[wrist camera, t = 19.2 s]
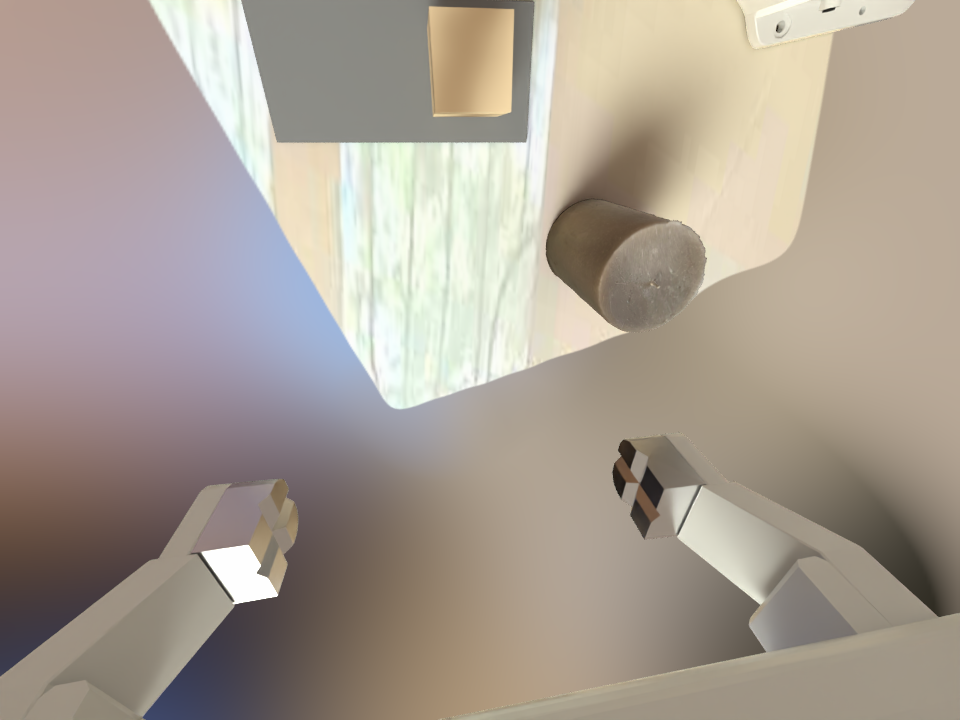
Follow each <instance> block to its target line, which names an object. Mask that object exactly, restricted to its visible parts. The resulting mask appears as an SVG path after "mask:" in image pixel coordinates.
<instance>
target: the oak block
mask: <svg viewBox="0 0 960 720" xmlns="http://www.w3.org/2000/svg"><path fill="white" fill-rule="evenodd" d="M513 34H514V9H494V8H463V7H433V6H429V12H428V24H427V36H428V51H429V67H430V82H431V97H432V112H433V117H498V116H501V115H504V114H507V113H510V112H511V104H512V69H513Z"/></svg>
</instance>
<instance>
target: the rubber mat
mask: <svg viewBox="0 0 960 720" xmlns="http://www.w3.org/2000/svg"><path fill="white" fill-rule="evenodd" d="M241 1H242V5H243V9H244V13H245V17H246V21H247V25H248V29H249V33H250V37H251V41H252V45H253V49H254V53H255V57H256V60H257V64H258V68H259V72H260V76H261V80H262V84H263V88H264V92H265V96H266V100H267V104H268V108H269V112H270V116H271V120H272V124H273V128H274V132H275V136H276V140H277V142H526V138H527V121H528V103H529V86H530V68H531V51H532V33H533V16H534V2H528V1H508V0H241ZM429 6H433V7H463V8H494V9H514V34H513V69H512V104H511V112H510V113H507V114H504V115H501V116H498V117H433V112H432V97H431V82H430V67H429V51H428V36H427V24H428V12H429Z"/></svg>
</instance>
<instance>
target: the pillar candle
mask: <svg viewBox="0 0 960 720" xmlns="http://www.w3.org/2000/svg"><path fill="white" fill-rule="evenodd" d="M546 257H547V261H548V264H549V266H550V268H551V270H552V272H553V273H554V274H555V275H556V276H558V277H559V278H560V279H561V280H562V281H563V282H564V283H565V284H567V285H568V286H569V287H570V288H571V289H573V290H574V291H575V292H576V293H577V294H578V295H579V296H580V297H581V298H582V299H583V300H584V301H585V302H587V303H588V304H589V305H590V306H591V307H592V308H593V309H594V310H595V311H596V312H597V313H598V314H600V315H601V316H602V317H603V318H604V319H605V320H606V321H607V322H608V323H610V324H611V325H613V326H614V327H616V328H618V329H620V330H622V331H626V332H644V331H649V330H652V329H655V328H658V327H660V326H662V325H664V324H665V323H667V322H668V321H670V320H672V319H673V318H674V317H675V316H677V315H678V314H679V313H680V312H682V311H683V310H684V309H685V307H686V306H687V305H688V304H689V303H690V301H691V300H692V299H693V298H694V297H695V296H696V295H697V293H698V289H699V288H700V287H701V285H702V282H703V276H704V275H705V274H704V269H705V263H706V259H707V258H705V247H704V246H703V244H702V242H701V240H700V236H698V235H697V234H696V233H695V231H693V230H692V229H691V228H690V227H688V226H686V225H684V224H682V223H681V222H679V221H674V220H673V221H670V220H668V219H664V218H660V217H656V216H655V215H651V214H648V213H645V212H641V211H638V210H635V209H631V208H628V207H625V206H621V205H618V204H614V203H612V202H608V201H604V200H595V199H588V200H584V201H580V202H578V203H576V204H574V205H572V206H570V207H569V208H568V209H566V210H565V211H564V212H563V213H562V214H561V215H560V216H559V218H558V219H557V220H556V221H555V223H554V224H553V226H552V227H551V230H550V232H549V234H548V238H547V242H546Z"/></svg>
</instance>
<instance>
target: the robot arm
mask: <svg viewBox="0 0 960 720" xmlns="http://www.w3.org/2000/svg"><path fill="white" fill-rule="evenodd" d="M736 1H737V2H738V4H739V5H740V7H741V9H742V11H743V13H744V15H745V23H746V30H747V36H748V40H749V43H750V45H751V46H752V47H753V48H754V49H761V48H766V47H770V46H775V45H779V44H783V43H788V42H792V41H796V40H801V39H805V38H809V37H814V36H818V35H822V34H827V33H831V32H835V31H839V30H844V29H848V28H852V27H856V26H861V25H865V24H869V23H874V22H878V21H882V20H887V19H889V18H892V17H895V16H897V15H900V14H902V13H903V12H905V11H906V10H907V9H908V8H909V7H910V6H911V4H912V3H913V2H914V1H915V0H736ZM777 24H778V26H779V27H778V31H777V32H776V27H777ZM618 452H619V453H620V455H621V457H620V458H619V459H618V460H617V461H616V462H615V463H614V466H613V471H612V474H613V482H614V486H615V488H616V491H617V493H618V495H619V496H620V498H621V500H623V501H624V502H625V503H627V504H628V505H630V506H631V513H630V516H631V517H632V519H633V521H634V523H635V525H636V526H637V528H638V530H639V531H640V533H641V535H642V537H643V538H644V540H647V539H655V538H663V537H671V536H678V537H677V538H678V539H680V540H681V541H682V542H683V543H685V544H686V545H687V546H688V547H690V548H691V549H692V550H693V551H695V552H696V553H697V554H698V555H699V556H701V557H702V558H703V559H704V560H706V561H707V562H708V563H710V564H711V565H712V566H713V567H714V568H716V569H717V570H718V571H720V572H721V573H722V574H723V575H724V576H726V577H727V578H728V579H729V580H731V581H732V582H733V583H734V584H736V585H737V586H738V587H739V588H741V589H742V590H743V591H744V592H746V593H747V594H748V595H749V596H751V597H752V598H753V599H754V600H755V601H757V602H758V603H759V604H760V605H761V606H760V607H759V608H758V609H757V610H756V612H755V613H754V614H753V615H752V617H751V618H750V622H749V627H750V628H751V630H752V631H753V633H754V634H755V635H756V637H757V639H758V640H759V641H760V643H761V644H762V646H763V647H764V649H765V650H766V652H767V653H762V654H757V655H752V656H747V657H742V658H738V659H733V660H728V661H724V662H718V663H713V664H708V665H703V666H699V667H694V668H689V669H684V670H679V671H674V672H669V673H664V674H659V675H655V676H650V677H645V678H640V679H635V680H631V681H625V682H620V683H615V684H611V685H606V686H601V687H596V688H591V689H586V690H581V691H576V692H571V693H567V694H562V695H557V696H552V697H547V698H542V699H537V700H532V701H528V702H523V703H518V704H513V705H508V706H503V707H498V708H493V709H488V710H484V711H479V712H474V713H469V714H464V715H459V716H454V717H449V718H445V719H440V720H960V613H958V614H953V615H948V616H943V617H938V616H936V615H935V614H934V613H933V612H932V611H931V610H930V609H929V608H928V607H927V606H925V605H924V604H923V603H922V602H921V601H920V600H919V599H918V598H917V597H916V596H914V595H913V594H912V593H911V592H910V591H909V590H908V589H907V588H906V587H905V586H904V585H902V584H901V583H900V582H899V581H898V580H897V579H896V578H895V577H894V576H892V575H891V574H890V573H889V572H888V571H887V570H886V569H885V568H884V567H883V566H882V565H881V564H879V563H878V562H877V561H876V560H875V559H874V558H873V557H872V556H871V555H870V554H868V553H867V552H866V551H865V550H864V549H863V548H862V547H860V546H858V545H856V544H855V543H852V542H851V541H849V540H847V539H845V538H843V537H841V536H839V535H837V534H835V533H833V532H831V531H829V530H827V529H826V528H824V527H821V526H820V525H818V524H816V523H814V522H812V521H810V520H808V519H806V518H804V517H802V516H800V515H798V514H796V513H794V512H793V511H791V510H789V509H786V508H785V507H783V506H781V505H779V504H777V503H775V502H773V501H771V500H769V499H767V498H765V497H763V496H762V495H760V494H758V493H756V492H754V491H752V490H750V489H748V488H746V487H744V486H742V485H740V484H738V483H736V482H734V481H733V482H728V481H727V480H726V479H725V478H724V477H723V476H722V475H721V473H720V472H719V471H718V470H717V469H716V468H715V467H714V466H713V465H712V464H711V463H710V462H709V460H708V459H707V458H706V457H705V456H704V455H703V454H702V453H701V452H700V451H699V450H698V449H697V447H696V446H694V444H693V443H692V442H691V441H690V440H689V439H688V438H687V437H686V436H685V435H683V434H682V433H671V434H662V435H654V436H645V437H637V438H629V439H624V440H622V441H621V443H620V445H619V448H618ZM288 490H289V489H288V486H287V484H286V482H285V480H284V479H273V480H262V481H251V482H239V483H232V484H222V485H211V486H207V487H206V488H205V489H203V490H202V491H201V492H200V493H199V495H198V496H197V498H196V500H195V501H194V503H193V505H192V506H191V508H190V509H189V511H188V512H187V514H186V516H185V517H184V519H183V521H182V522H181V524H180V525H179V527H178V529H177V530H176V532H175V533H174V535H173V537H172V538H171V539H170V541H169V543H168V544H167V546H166V547H165V549H164V551H163V552H162V554H161V556H160V557H159V559H155V560H150V561H148V562H147V563H146V564H144V565H143V566H142V567H141V568H139V569H138V570H137V571H136V572H134V573H133V574H132V575H130V576H129V577H128V578H127V579H125V580H124V581H123V582H121V583H120V584H119V585H118V586H116V587H115V588H114V589H113V590H111V591H110V592H109V593H107V594H106V595H105V596H104V597H102V598H101V599H100V600H98V601H97V602H96V603H94V604H93V605H92V606H91V607H89V608H88V609H87V610H85V611H84V612H83V613H82V614H80V615H79V616H78V617H77V618H75V619H74V620H73V621H71V622H70V623H69V624H68V625H66V626H65V627H64V628H62V629H61V630H60V631H58V632H57V633H56V634H55V635H53V636H52V637H51V638H49V639H48V640H47V641H46V642H44V643H43V644H42V645H41V646H39V647H38V648H37V649H35V650H34V651H33V652H32V653H30V654H29V655H28V656H27V657H25V658H24V659H23V660H21V661H20V662H19V663H17V664H16V665H15V666H14V667H12V668H11V669H10V670H8V671H7V672H6V673H5V674H3V675H2V676H1V677H0V720H145V719H143V718H142V717H143V715H144V714H145V713H146V712H147V710H148V709H149V708H150V707H151V706H152V705H153V703H154V702H155V701H156V700H157V699H158V697H159V696H160V695H161V694H162V693H163V691H164V690H165V689H166V688H167V686H168V685H169V684H170V683H171V682H172V681H173V679H174V678H175V677H176V676H177V675H178V673H179V672H180V671H181V670H182V669H183V667H184V666H185V665H186V664H187V663H188V661H189V660H190V659H191V658H192V656H193V655H194V654H195V653H196V652H197V651H198V649H199V648H200V647H201V646H202V645H203V643H204V642H205V641H206V640H207V639H208V637H209V636H210V635H211V634H212V632H213V631H214V630H215V629H216V628H217V626H218V625H219V624H220V623H221V622H222V621H223V619H224V618H225V617H226V616H227V614H228V613H229V612H230V611H231V610H232V608H233V607H234V604H235V603H240V602H245V601H251V600H257V599H262V598H268V597H273V596H278V593H279V590H280V586H281V584H282V580H283V577H284V574H285V571H286V568H287V562H286V560H285V558H284V556H283V555H284V554H285V553H286V552H287V551H288V550H289V549H290V548H291V546H292V545H293V544H294V541H295V538H296V534H297V529H298V512H297V508H296V505H295V503H294V502H293V501H292V500H290V499H288V498H286V495H287V493H288Z"/></svg>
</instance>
